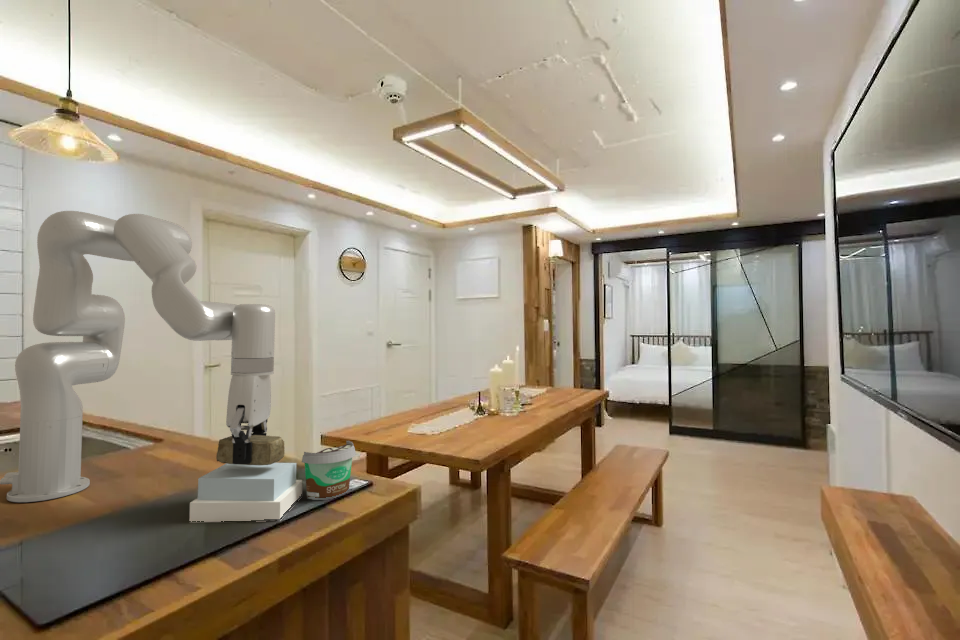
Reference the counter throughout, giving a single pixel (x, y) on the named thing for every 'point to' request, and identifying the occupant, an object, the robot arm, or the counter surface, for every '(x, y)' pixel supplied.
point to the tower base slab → (244, 507)
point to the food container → (328, 471)
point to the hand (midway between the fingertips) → (250, 457)
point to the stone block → (254, 450)
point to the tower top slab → (247, 482)
